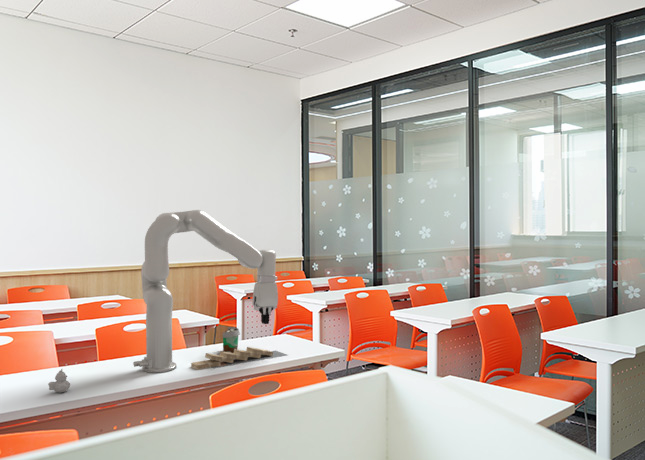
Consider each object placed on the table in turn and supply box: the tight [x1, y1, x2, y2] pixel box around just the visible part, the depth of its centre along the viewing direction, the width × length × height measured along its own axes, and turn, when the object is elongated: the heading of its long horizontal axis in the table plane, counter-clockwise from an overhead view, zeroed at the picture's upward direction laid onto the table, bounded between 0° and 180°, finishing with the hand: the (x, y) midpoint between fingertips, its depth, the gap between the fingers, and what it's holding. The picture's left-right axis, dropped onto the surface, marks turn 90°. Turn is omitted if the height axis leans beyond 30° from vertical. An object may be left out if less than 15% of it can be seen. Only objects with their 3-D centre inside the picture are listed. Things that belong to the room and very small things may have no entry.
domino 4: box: [234, 349, 261, 358], centre depth 223 cm, size 2×5×10 cm
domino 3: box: [219, 350, 248, 361], centre depth 219 cm, size 2×5×10 cm
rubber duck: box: [47, 368, 71, 394], centre depth 181 cm, size 5×7×8 cm
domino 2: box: [204, 352, 234, 363], centre depth 216 cm, size 2×5×10 cm
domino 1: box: [190, 359, 221, 370], centre depth 212 cm, size 2×5×10 cm
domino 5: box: [245, 346, 273, 356], centre depth 227 cm, size 2×5×10 cm
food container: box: [222, 326, 241, 353], centre depth 235 cm, size 12×6×10 cm, turn 179°
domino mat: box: [211, 350, 288, 369], centre depth 223 cm, size 34×10×1 cm, turn 127°
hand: (265, 323), depth 228 cm, fingers closed
